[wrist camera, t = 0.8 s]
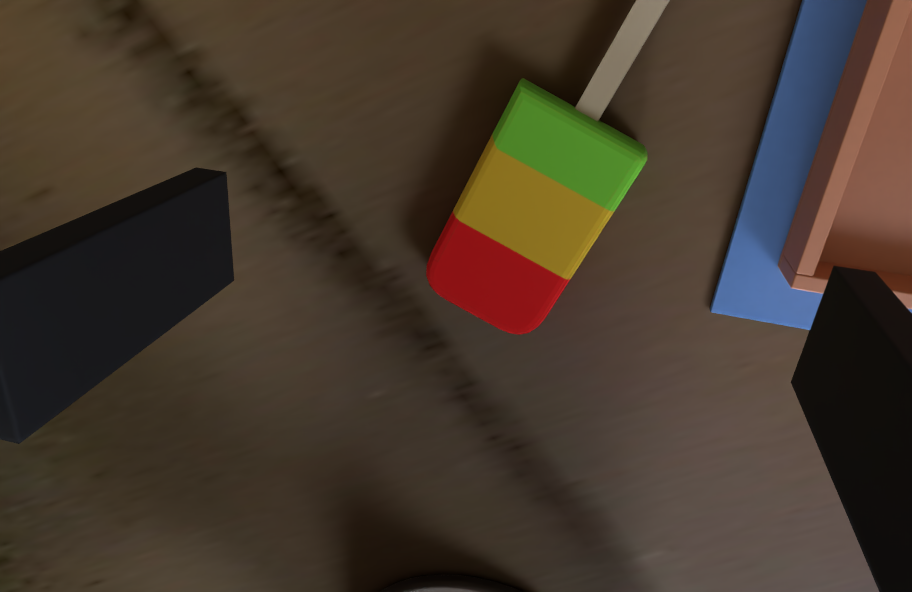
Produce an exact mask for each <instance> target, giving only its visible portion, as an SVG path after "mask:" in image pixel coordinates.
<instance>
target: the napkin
mask: <svg viewBox="0 0 912 592" xmlns="http://www.w3.org/2000/svg"><path fill="white" fill-rule="evenodd" d="M866 2H867V0H802V3H801V6H800V9H799V13H798V16H797V19H796V23H795V26H794V29H793V33H792V36H791V39H790V43H789V46H788V49H787V53H786V56H785V59H784V63H783V66H782V69H781V73H780V76H779V79H778V83H777V86H776V89H775V93H774V96H773V99H772V103H771V106H770V109H769V113H768V116H767V119H766V123H765V126H764V129H763V133H762V136H761V139H760V143H759V146H758V150H757V153H756V156H755V160H754V163H753V166H752V170H751V173H750V176H749V180H748V183H747V186H746V190H745V193H744V196H743V200H742V203H741V206H740V210H739V213H738V216H737V220H736V223H735V226H734V230H733V233H732V236H731V240H730V243H729V246H728V250H727V253H726V256H725V260H724V263H723V266H722V270H721V273H720V276H719V280H718V283H717V286H716V290H715V293H714V296H713V300H712V303H711V306H710V311H711V312H713V313H719V314H725V315H730V316H736V317H741V318H747V319H752V320H758V321H763V322H769V323H774V324H780V325H785V326H791V327H796V328H802V329H808V330H810V329H811V326H812V323H813V320H814V318H815V315H816V312H817V310H818V307H819V304H820V301H821V299H822V296H823V294H821V293H816V292H810V291H804V290H798V289H792V288H791V287H790V286H789V284H788V282H787V281H786V279H785V277H784V276H783V274H782V273H781V271H780V269H779V268H778V266H777V265H778V262H779V259H780V256H781V253H782V250H783V248H784V245H785V242H786V239H787V236H788V233H789V230H790V227H791V224H792V221H793V218H794V215H795V212H796V209H797V206H798V203H799V200H800V197H801V194H802V191H803V188H804V185H805V182H806V180H807V177H808V174H809V171H810V168H811V165H812V162H813V159H814V156H815V153H816V150H817V147H818V144H819V141H820V138H821V135H822V132H823V129H824V126H825V123H826V120H827V117H828V114H829V112H830V109H831V106H832V103H833V100H834V97H835V94H836V91H837V88H838V85H839V82H840V79H841V76H842V73H843V70H844V67H845V64H846V61H847V58H848V55H849V52H850V49H851V46H852V44H853V41H854V38H855V35H856V32H857V29H858V26H859V23H860V20H861V17H862V14H863V11H864V8H865V5H866ZM908 310H909V311H910V312H911V313H912V309H908Z"/></svg>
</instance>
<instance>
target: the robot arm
mask: <svg viewBox="0 0 912 592" xmlns="http://www.w3.org/2000/svg"><path fill="white" fill-rule="evenodd" d="M233 281H234V273H233V259H232V245H231V231H230V217H229V203H228V189H227V175H226V172H222V171H215V170H209V169H202V168H194V169H192V170H189V171H187V172H185V173H182V174H180V175H178V176H175V177H173V178H171V179H168V180H166V181H164V182H161V183H159V184H157V185H154V186H152V187H150V188H147V189H145V190H143V191H140V192H138V193H135V194H133V195H131V196H128V197H126V198H124V199H121V200H119V201H117V202H114V203H112V204H110V205H107V206H105V207H103V208H100V209H98V210H96V211H93V212H91V213H89V214H86V215H84V216H82V217H79V218H77V219H75V220H72V221H70V222H68V223H65V224H63V225H61V226H58V227H56V228H54V229H51V230H49V231H47V232H44V233H42V234H40V235H37V236H35V237H33V238H30V239H28V240H26V241H23V242H21V243H18V244H16V245H14V246H11V247H9V248H7V249H4V250H2V251H0V439H1V440H5V441H10V442H14V443H18V444H19V443H21V442H22V441H23V440H25V439H26V438H27V437H29V436H30V435H31V434H33V433H34V432H35V431H37V430H38V429H39V428H40V427H42V426H43V425H44V424H46V423H47V422H48V421H50V420H51V419H52V418H54V417H55V416H56V415H58V414H59V413H60V412H62V411H63V410H64V409H65V408H67V407H68V406H69V405H71V404H72V403H73V402H75V401H76V400H77V399H79V398H80V397H81V396H83V395H84V394H85V393H87V392H88V391H89V390H91V389H92V388H93V387H94V386H96V385H97V384H98V383H100V382H101V381H102V380H104V379H105V378H106V377H108V376H109V375H110V374H112V373H113V372H114V371H116V370H117V369H118V368H119V367H121V366H122V365H123V364H125V363H126V362H127V361H129V360H130V359H131V358H133V357H134V356H135V355H137V354H138V353H139V352H141V351H142V350H143V349H144V348H146V347H147V346H148V345H150V344H151V343H152V342H154V341H155V340H156V339H158V338H159V337H160V336H162V335H163V334H164V333H166V332H167V331H168V330H170V329H171V328H172V327H173V326H175V325H176V324H177V323H179V322H180V321H181V320H183V319H184V318H185V317H187V316H188V315H189V314H191V313H192V312H193V311H195V310H196V309H197V308H198V307H200V306H201V305H202V304H204V303H205V302H206V301H208V300H209V299H210V298H212V297H213V296H214V295H216V294H217V293H218V292H220V291H221V290H222V289H224V288H225V287H226V286H227V285H229V284H230V283H231V282H233ZM791 384H792V386H793V388H794V391H795V393H796V395H797V398H798V400H799V402H800V405H801V407H802V410H803V412H804V414H805V417H806V419H807V421H808V424H809V426H810V428H811V431H812V433H813V436H814V438H815V440H816V443H817V445H818V447H819V450H820V452H821V454H822V457H823V459H824V462H825V464H826V466H827V469H828V471H829V473H830V476H831V478H832V480H833V483H834V485H835V488H836V490H837V492H838V495H839V497H840V499H841V502H842V504H843V506H844V509H845V511H846V514H847V516H848V518H849V521H850V523H851V525H852V528H853V530H854V532H855V535H856V537H857V540H858V542H859V544H860V547H861V549H862V551H863V554H864V556H865V558H866V561H867V563H868V566H869V568H870V570H871V573H872V575H873V577H874V580H875V582H876V585H877V587H878V589H879V592H912V313H911V312H910V311H909V310H908V308H907V307H906V306H905V305H904V304H903V303H902V302H901V300H900V299H899V298H898V297H897V296H896V295H895V294H894V293H893V291H892V290H891V289H890V288H889V287H888V286H887V285H886V283H885V282H884V281H883V280H882V279H881V278H880V277H879V275H878V274H877V273H876V272H873V271H866V270H860V269H853V268H847V267H840V266H833V269H832V271H831V274H830V277H829V279H828V282H827V285H826V288H825V290H824V293H823V296H822V299H821V301H820V304H819V307H818V310H817V312H816V315H815V318H814V320H813V323H812V326H811V329H810V331H809V334H808V337H807V340H806V342H805V345H804V348H803V351H802V353H801V356H800V359H799V361H798V364H797V367H796V370H795V372H794V375H793V378H792V381H791ZM380 592H521V591H519V590H517V589H515V588H512V587H509V586H506V585H504V584H500V583H497V582H493V581H490V580H486V579H481V578H476V577H470V576H462V575H428V576H421V577H415V578H411V579H407V580H403V581H400V582H398V583H395V584H393V585H391V586H389V587H387V588H385V589H383V590H381V591H380Z"/></svg>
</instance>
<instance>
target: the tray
mask: <svg viewBox="0 0 912 592" xmlns="http://www.w3.org/2000/svg"><path fill="white" fill-rule="evenodd" d="M777 266H778V268H779V269H780V271H781V273H782V274H783V276H784V277H785V279H786V281H787V282H788V284H789V286H790V287H791V288H792V289H798V290H804V291H810V292H816V293H821V294H823V293H824V290H825V288H826V285H827V282H828V279H829V277H830V274H831V271H832V269H833V266H840V267H847V268H853V269H860V270H866V271H873V272H876V273H877V274H878V275H879V277H880V278H881V279H882V280H883V281H884V282H885V283H886V285H887V286H888V287H889V288H890V289H891V290H892V291H893V293H894V294H895V295H896V296H897V297H898V298H899V299H900V300H901V302H902V303H903V304H904V305H905V306H906V307H907V308H908V309H912V0H867V2H866V5H865V8H864V11H863V14H862V17H861V20H860V23H859V26H858V29H857V32H856V35H855V38H854V41H853V44H852V46H851V49H850V52H849V55H848V58H847V61H846V64H845V67H844V70H843V73H842V76H841V79H840V82H839V85H838V88H837V91H836V94H835V97H834V100H833V103H832V106H831V109H830V112H829V114H828V117H827V120H826V123H825V126H824V129H823V132H822V135H821V138H820V141H819V144H818V147H817V150H816V153H815V156H814V159H813V162H812V165H811V168H810V171H809V174H808V177H807V180H806V182H805V185H804V188H803V191H802V194H801V197H800V200H799V203H798V206H797V209H796V212H795V215H794V218H793V221H792V224H791V227H790V230H789V233H788V236H787V239H786V242H785V245H784V248H783V250H782V253H781V256H780V259H779V262H778V265H777Z"/></svg>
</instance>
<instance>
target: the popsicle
mask: <svg viewBox="0 0 912 592" xmlns="http://www.w3.org/2000/svg"><path fill="white" fill-rule="evenodd" d="M668 2H669V0H636V1H635V3H634V5H633V7H632V8H631V10H630V12H629V14H628V15H627V17H626V19H625V21H624V22H623V24H622V26H621V28H620V30H619V31H618V33H617V35H616V37H615V38H614V40H613V42H612V44H611V45H610V47H609V49H608V51H607V52H606V54H605V56H604V58H603V59H602V61H601V63H600V65H599V67H598V68H597V70H596V72H595V74H594V75H593V77H592V79H591V81H590V82H589V84H588V86H587V88H586V89H585V91H584V93H583V95H582V97H581V98H580V100H579V102H578V104H577V105H576V107H574V106H572V105H571V104H569V103H567V102H565V101H563V100H562V99H560V98H558V97H556V96H554V95H553V94H551V93H549V92H547V91H545V90H544V89H542V88H540V87H538V86H536V85H535V84H533V83H531V82H529V81H527V80H526V79H524V78H522V79H521V80H520V81H519V83H518V85H517V87H516V89H515V91H514V93H513V95H512V97H511V99H510V101H509V103H508V105H507V107H506V109H505V111H504V112H503V114H502V116H501V118H500V120H499V122H498V124H497V126H496V128H495V130H494V132H493V134H492V136H491V138H490V140H489V142H488V144H487V145H486V147H485V149H484V151H483V153H482V155H481V157H480V159H479V161H478V163H477V165H476V167H475V169H474V171H473V173H472V175H471V177H470V178H469V180H468V182H467V184H466V186H465V188H464V190H463V192H462V194H461V196H460V198H459V200H458V202H457V204H456V206H455V208H454V210H453V212H452V214H451V215H450V217H449V219H448V221H447V223H446V225H445V227H444V229H443V231H442V233H441V235H440V237H439V239H438V241H437V243H436V245H435V247H434V248H433V250H432V253H431V255H430V258H429V261H428V263H427V269H426V276H427V279H428V282H429V284H430V286H431V287H432V288H433V290H434V291H435V292H436V293H437V294H439V295H440V296H441V297H443V298H444V299H446V300H447V301H449V302H451V303H453V304H455V305H456V306H458V307H460V308H462V309H464V310H466V311H467V312H469V313H471V314H473V315H475V316H476V317H478V318H480V319H482V320H484V321H486V322H487V323H489V324H491V325H493V326H495V327H497V328H499V329H501V330H503V331H506V332H508V333H512V334H518V335H520V334H525V333H529V332H531V331H532V330H534V329H535V328H537V327H538V326H539V325H540V324H541V323H542V321H543V320H544V319H545V318H546V316H547V315H548V313H549V312H550V310H551V309H552V307H553V305H554V304H555V302H556V301H557V299H558V298H559V296H560V295H561V293H562V292H563V290H564V288H565V287H566V285H567V284H568V282H569V281H570V279H571V278H572V276H573V275H574V273H575V272H576V270H577V268H578V267H579V265H580V264H581V262H582V261H583V259H584V258H585V256H586V255H587V253H588V251H589V250H590V248H591V247H592V245H593V244H594V242H595V241H596V239H597V238H598V236H599V234H600V233H601V231H602V230H603V228H604V227H605V225H606V224H607V222H608V221H609V219H610V217H611V216H612V214H613V213H614V211H615V210H616V208H617V207H618V205H619V204H620V202H621V200H622V199H623V197H624V196H625V194H626V193H627V191H628V190H629V188H630V187H631V185H632V184H633V182H634V180H635V179H636V177H637V176H638V174H639V173H640V171H641V170H642V168H643V167H644V165H645V163H646V161H647V150H646V148H645V146H644V145H643V144H641V143H639V142H637V141H636V140H634V139H632V138H630V137H628V136H627V135H625V134H623V133H621V132H619V131H618V130H616V129H614V128H612V127H610V126H609V125H607V124H605V123H603V122H601V121H600V120H599V119H600V117H601V115H602V114H603V112H604V110H605V109H606V107H607V105H608V104H609V102H610V100H611V98H612V97H613V95H614V93H615V92H616V90H617V88H618V87H619V85H620V83H621V82H622V80H623V78H624V76H625V75H626V73H627V71H628V70H629V68H630V66H631V65H632V63H633V61H634V60H635V58H636V56H637V54H638V53H639V51H640V49H641V48H642V46H643V44H644V43H645V41H646V39H647V37H648V36H649V34H650V32H651V31H652V29H653V27H654V26H655V24H656V22H657V21H658V19H659V17H660V15H661V14H662V12H663V10H664V9H665V7H666V5H667V4H668Z"/></svg>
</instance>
